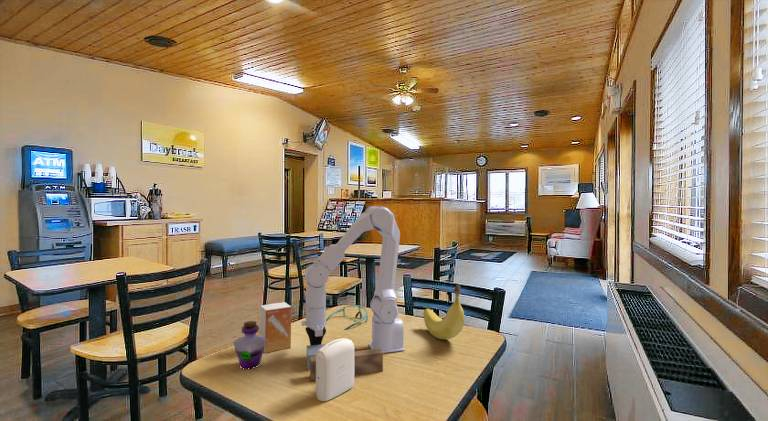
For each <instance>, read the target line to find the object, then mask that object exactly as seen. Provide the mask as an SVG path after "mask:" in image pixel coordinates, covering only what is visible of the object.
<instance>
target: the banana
mask: <svg viewBox="0 0 768 421" xmlns="http://www.w3.org/2000/svg"><path fill="white" fill-rule="evenodd" d="M453 292H454V294H455V297H454V301H453V303H452V304H451V306H450V307H449V308H448V309H447V312H446V314H445V315H444V317H443V318H441V317H440V316H439V315H437V314H436V313H435V312H434V311H433V310H432V309H430V308H425V309H424V311H423V315H422V316H423V320H424V324H425V327H426V329H427V330H428V332H429V333H430V334H431V335H432V336H433V337H434V338H436V339H439V340H451V339H454V338H455V337H457V336H458V335H459V334H460V333H461V332H462V331H463V328H464V326H465V312H464V309H463V307H462V305H461V302H460V300H459V295H460V293H461V285H459V284H457V285H455V287H454V289H453Z"/></svg>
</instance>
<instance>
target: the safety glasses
mask: <svg viewBox="0 0 768 421" xmlns="http://www.w3.org/2000/svg"><path fill="white" fill-rule="evenodd" d="M350 307H356V308H357V307H358V312H357V313H356V314H355V318H358V316H359V318H360V320H358V321H356V322H354V323H352V324H350V325H348V326H347V327H345V328H344V329H343V331H347V330H349V329H350V328H352V327H354V326H356V325H358V324H360V323H361V322H363V320H365V323H368V321H369V320H368V319H369V318H368V317H369V316H368V310H367V308H366V307H365V306H362V305H358V304H350V305H346V306H344V307H342V308H340V309H337V310H335V311H334V312H333V313H331V314H330V315H329V316H327V317H326V322H327V321H328V320H329V319H330V318H331V317H333V316H335V314H338V313H341V312H343V313H342V314H343V317H347V315H345V314H346V313H345V312H346V311H345V308H350ZM361 309H363V310H364V311H365V313H366V314H365V315H364V316H363V313H362V311H361ZM348 317H351V316H350V315H349V316H348Z"/></svg>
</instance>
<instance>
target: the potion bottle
mask: <svg viewBox="0 0 768 421" xmlns="http://www.w3.org/2000/svg"><path fill="white" fill-rule="evenodd" d="M258 332H260V325H257V321H256V320H249V321H245V322H243V326H242V327H241V333H242V334H244V336H241V337H238V338H237V339H236V340H234V341H233V345H234V346H233V347H234V350H235V354H236V355H237V358H238V363H239V366H241V367H242V368H241V369H242V370H252V368H253V367H256V366H258V365H259V364H260V363H261V361H262V357H263V352H264V351H263V350H264V348H265V343H266V339H267V338H265V337H263V336H261V335H260V334H257V333H258ZM260 365H261V364H260ZM260 365H259V366H260ZM243 368H244V369H243ZM248 368H249V369H248ZM256 368H257V367H256ZM253 369H254V368H253Z"/></svg>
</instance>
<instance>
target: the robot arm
mask: <svg viewBox="0 0 768 421" xmlns="http://www.w3.org/2000/svg"><path fill="white" fill-rule="evenodd" d="M356 218H357V219H355V220H354V222H353V223H352V224H351V226H350V227H349V228H348V229H347V231H345V233H344V234H343V236H342V237H341V238H340V239H339V240H338V241H337V243H335V244H333V243H332V244H329V245H328V246H325V247H324V248H323V252H322V253H321V254H320V256H319V257H318V258H317V259H314V260H312V264H310V265H308V267H307V268H306V270H305V273H304V275H303V276H304V279H305V280H306V286H305V288H306V290H305V320H302V321H301V326H303V327H305V333H306V334H307V336H308V340H309V345H321V344H323V343H322V342H323V339H324V337H325V335H326V334H327V329H326V325H327V321H326V319H327V317H326V316H327V315H326V312H327V310H326V309H327V308H326V307H327V306H326V304H327V303H326V302H327V297H326V296H327V290H326V283H327V282H328V280H329V275H330V274H332V273H333V271H334V270H336V268H337V267H338V266H339V265H340V263H341V262H342V261H343V260H344V259H345V258H346V250H348V249H349V247H350V246H351V245H352V244H353V243H354V242H355V241H356V240H357V239H358V238H359V237H360V236H362V234H363V233H364V232H368V231H372V230H376V231H377V233H379V235H380V236H381V237H382V243H381V252H380V260H379V270H378V278H377V287H376V288H375V290H374V293H373V294H374V295H373V297H372V299H371V301H370V303H369V305H370V306H369V307H370V310H371V312H372V313H373V315H372V319H371V322H372V323H371V326H372V327H371V342H368V343H367V345H368V347H369V348H370V350H372V349H380V350H381V351H382V352H383V354H385V353H395V352H403V351H405V348H404V339H405V338H404V334H405V333H404V332H405V330H404V323H403V321H402V319H401V318H400V317H398V316H399V308H398V305H397V299H398V298H397V294H396V292H395V286H396V285H395V283H396V276H397V266H398V258H399V250H400V249H399V248H400V239H401V232H400V229H399V226H398V224H397V221H396V220H395V214H394V213H393V212H392V211H391V210H390V209H389V208H388V207H386V206H376V205H372V206H371V205H370V206H369V207H367V208H366V209H365V211H364V212H362V213H360V214H359V216H358V217H356Z"/></svg>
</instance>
